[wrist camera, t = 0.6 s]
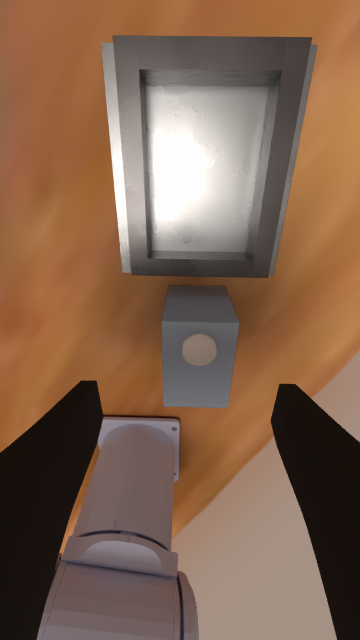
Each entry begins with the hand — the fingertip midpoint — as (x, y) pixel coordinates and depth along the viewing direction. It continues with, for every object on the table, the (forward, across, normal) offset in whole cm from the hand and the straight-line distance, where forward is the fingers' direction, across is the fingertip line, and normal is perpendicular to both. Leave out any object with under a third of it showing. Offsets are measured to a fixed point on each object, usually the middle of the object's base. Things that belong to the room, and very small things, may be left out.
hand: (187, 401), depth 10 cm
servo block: (+10, -1, +2) cm, 10 cm away
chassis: (+9, -1, -8) cm, 12 cm away
